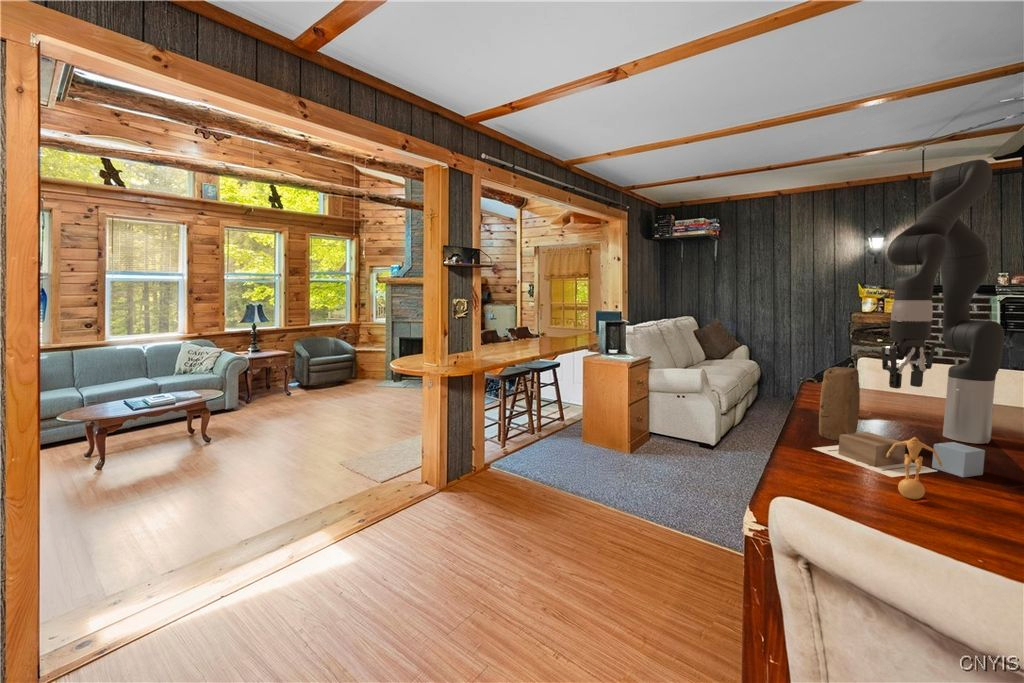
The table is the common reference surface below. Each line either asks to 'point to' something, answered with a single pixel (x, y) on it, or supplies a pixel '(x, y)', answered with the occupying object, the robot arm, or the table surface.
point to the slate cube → (959, 459)
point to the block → (839, 402)
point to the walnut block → (871, 449)
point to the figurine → (913, 486)
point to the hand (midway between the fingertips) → (905, 387)
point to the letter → (886, 470)
